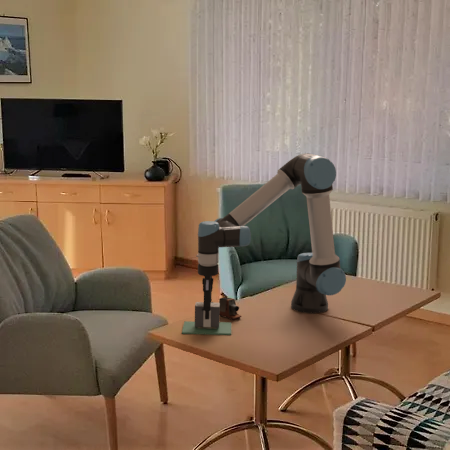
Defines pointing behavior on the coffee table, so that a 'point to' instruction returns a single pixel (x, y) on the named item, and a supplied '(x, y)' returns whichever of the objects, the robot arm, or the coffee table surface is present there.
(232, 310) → the electronic device
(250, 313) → the coffee table surface
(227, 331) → the header board
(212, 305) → the block
